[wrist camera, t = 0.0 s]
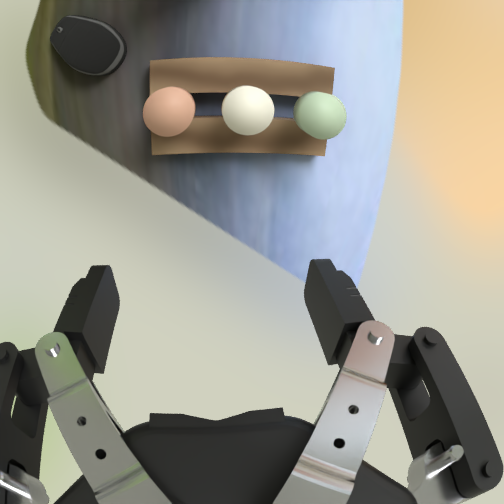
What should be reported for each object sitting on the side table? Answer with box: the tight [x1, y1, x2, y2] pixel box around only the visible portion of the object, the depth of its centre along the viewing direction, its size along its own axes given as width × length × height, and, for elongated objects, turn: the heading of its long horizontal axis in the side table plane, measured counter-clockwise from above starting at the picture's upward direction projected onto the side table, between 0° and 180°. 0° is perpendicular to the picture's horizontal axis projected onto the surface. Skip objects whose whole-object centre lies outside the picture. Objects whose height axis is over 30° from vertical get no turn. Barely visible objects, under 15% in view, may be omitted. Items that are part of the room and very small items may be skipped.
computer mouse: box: [50, 15, 127, 75], centre depth 24 cm, size 7×12×4 cm, turn 49°
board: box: [150, 57, 335, 156], centre depth 33 cm, size 12×22×2 cm, turn 87°
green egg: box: [293, 91, 346, 140], centre depth 31 cm, size 5×5×6 cm
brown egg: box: [143, 86, 196, 137], centre depth 29 cm, size 5×5×6 cm
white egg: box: [221, 85, 274, 135], centre depth 30 cm, size 5×5×6 cm
